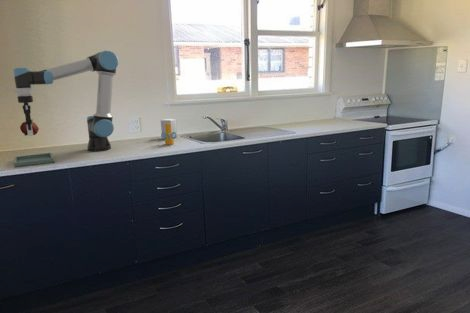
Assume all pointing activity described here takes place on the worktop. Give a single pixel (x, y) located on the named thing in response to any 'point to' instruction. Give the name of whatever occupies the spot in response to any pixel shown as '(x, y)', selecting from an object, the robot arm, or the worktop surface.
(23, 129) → the fruit
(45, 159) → the tray
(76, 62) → the robot arm
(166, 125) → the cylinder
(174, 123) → the supplement box
